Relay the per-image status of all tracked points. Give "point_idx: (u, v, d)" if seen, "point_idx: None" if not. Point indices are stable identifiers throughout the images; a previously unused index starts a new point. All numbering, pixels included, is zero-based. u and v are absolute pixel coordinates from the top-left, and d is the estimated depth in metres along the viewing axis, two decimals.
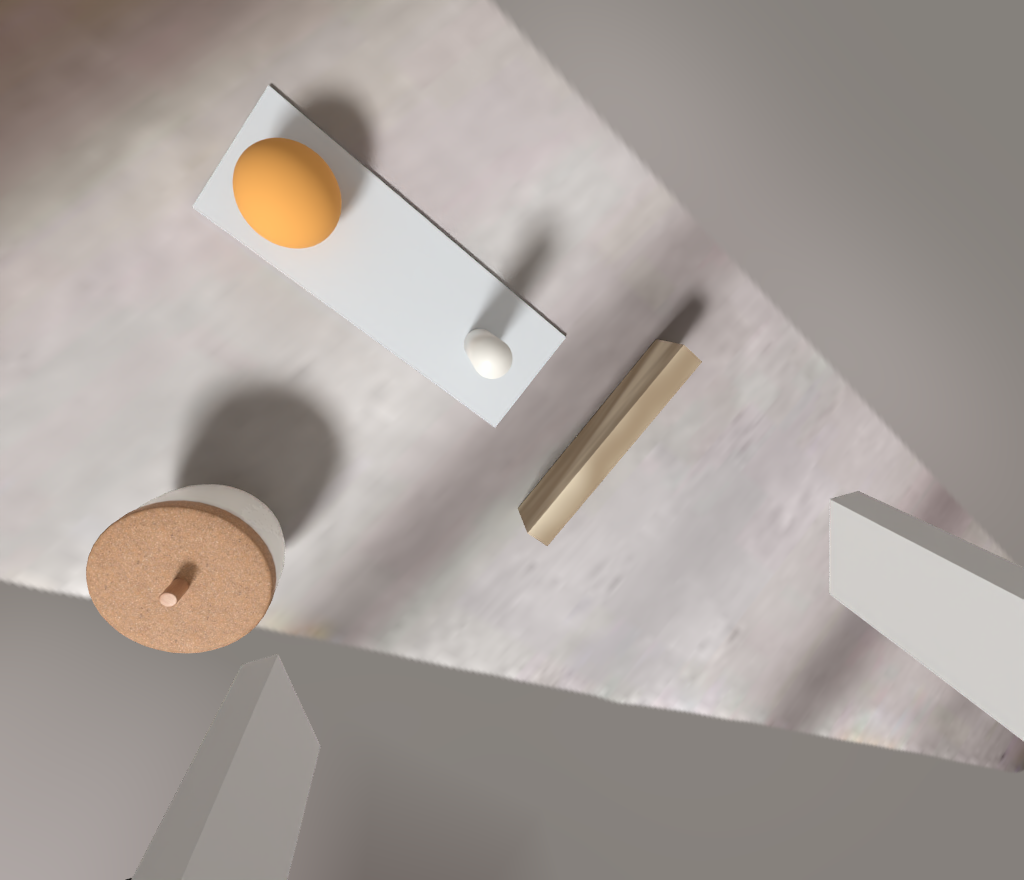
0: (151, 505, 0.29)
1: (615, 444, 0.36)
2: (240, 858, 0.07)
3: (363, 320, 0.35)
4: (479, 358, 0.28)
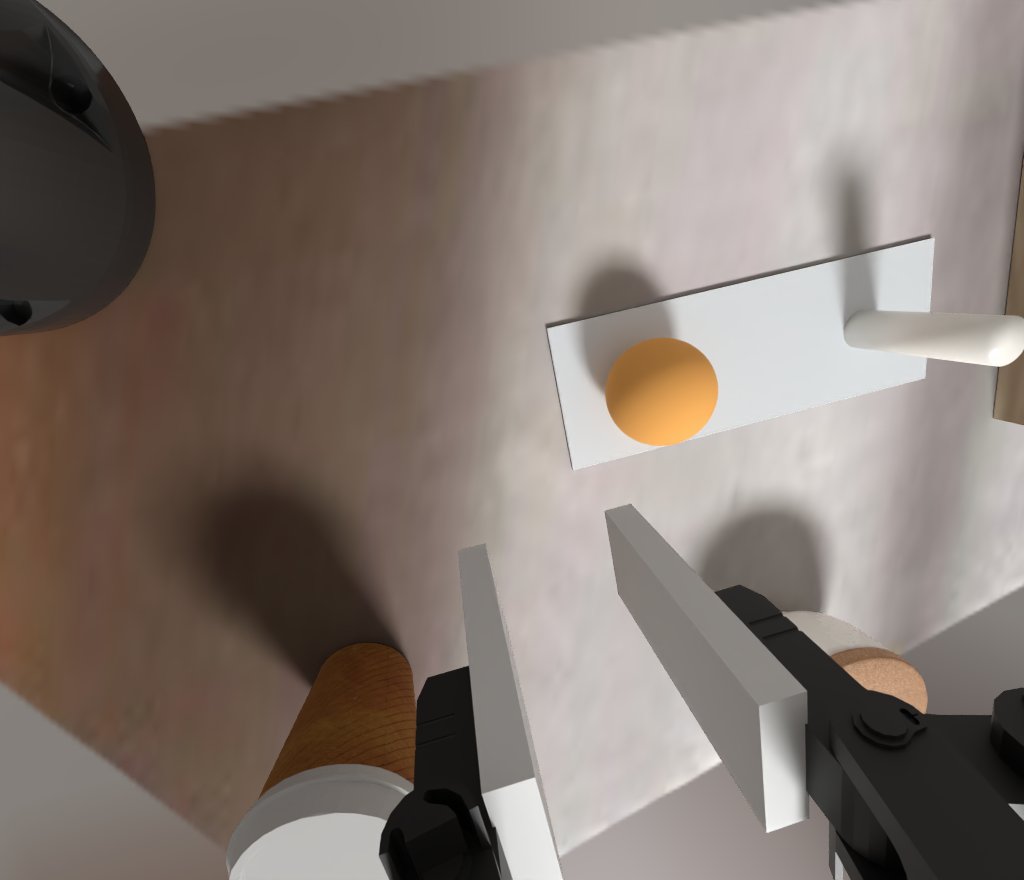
0: None
1: None
2: (513, 666, 0.10)
3: (752, 413, 0.31)
4: (993, 354, 0.23)
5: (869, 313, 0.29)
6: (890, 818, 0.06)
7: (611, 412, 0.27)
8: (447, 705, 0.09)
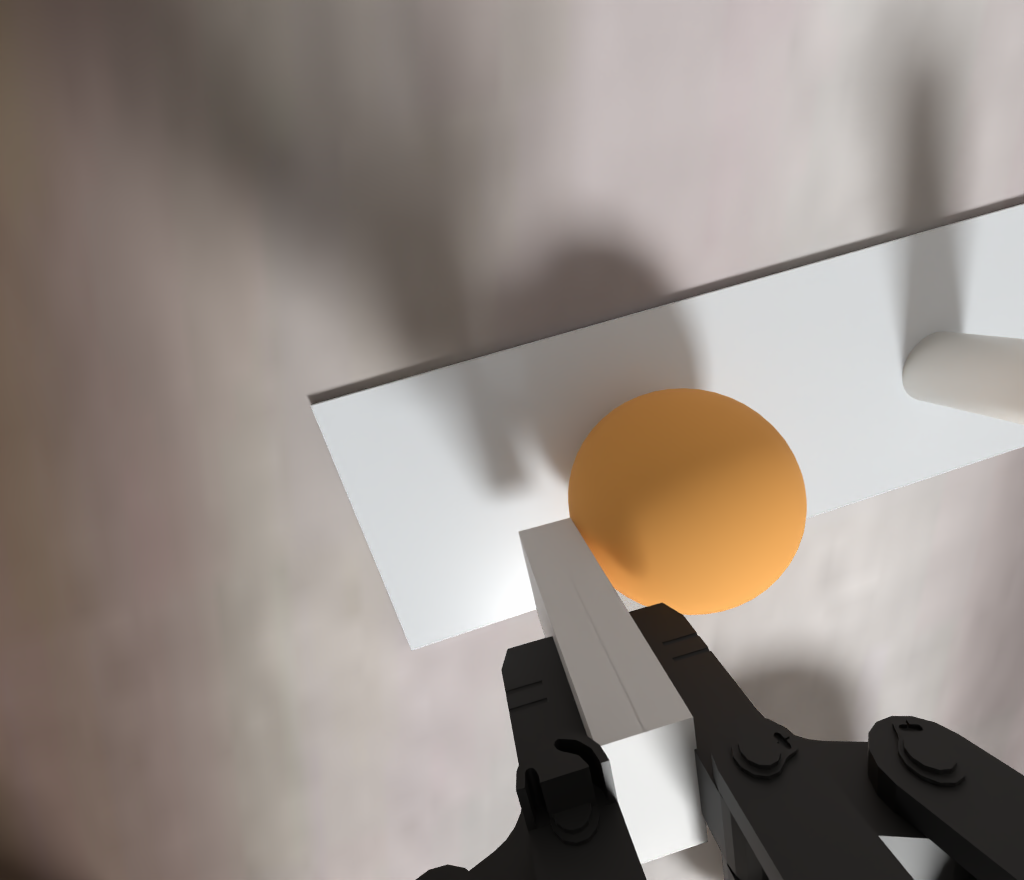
0: None
1: None
2: None
3: None
4: None
5: (956, 341, 0.15)
6: (767, 858, 0.05)
7: (692, 583, 0.11)
8: (533, 673, 0.09)
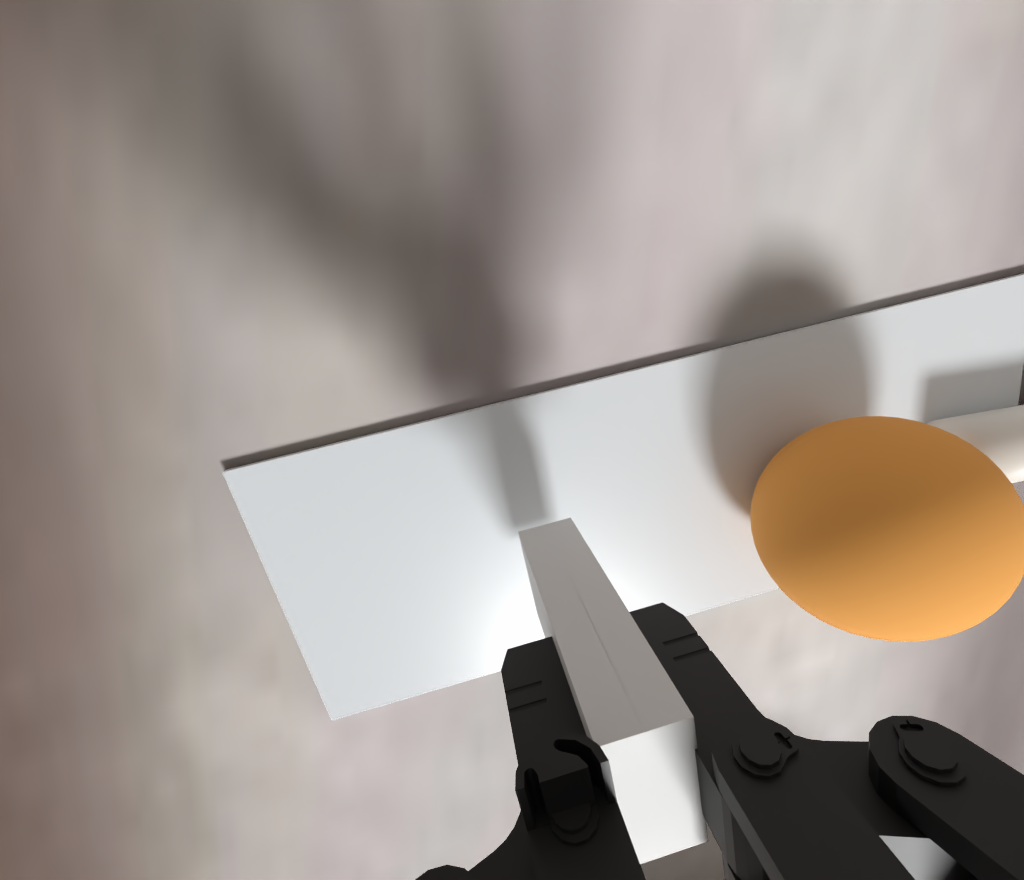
0: None
1: None
2: None
3: (682, 600, 0.17)
4: None
5: (1013, 429, 0.15)
6: (767, 857, 0.05)
7: None
8: (532, 673, 0.09)
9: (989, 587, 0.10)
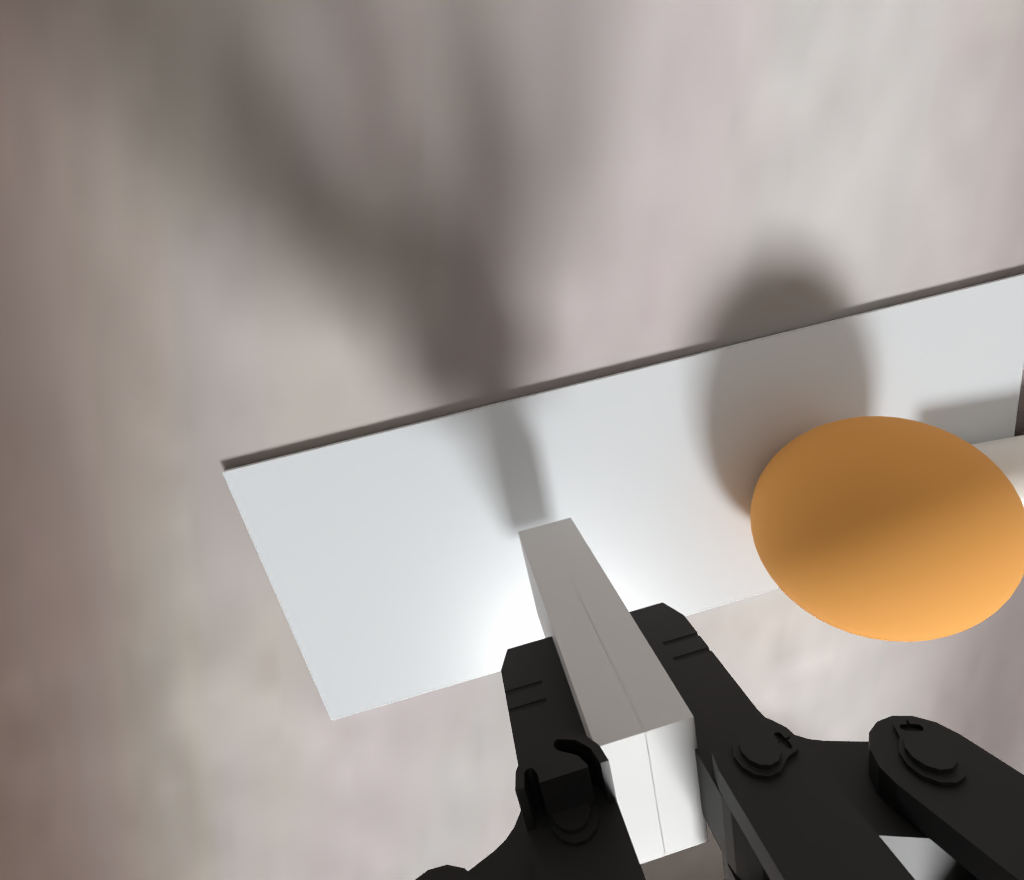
0: None
1: None
2: None
3: (682, 600, 0.17)
4: None
5: None
6: (767, 857, 0.05)
7: None
8: (532, 673, 0.09)
9: (989, 587, 0.10)
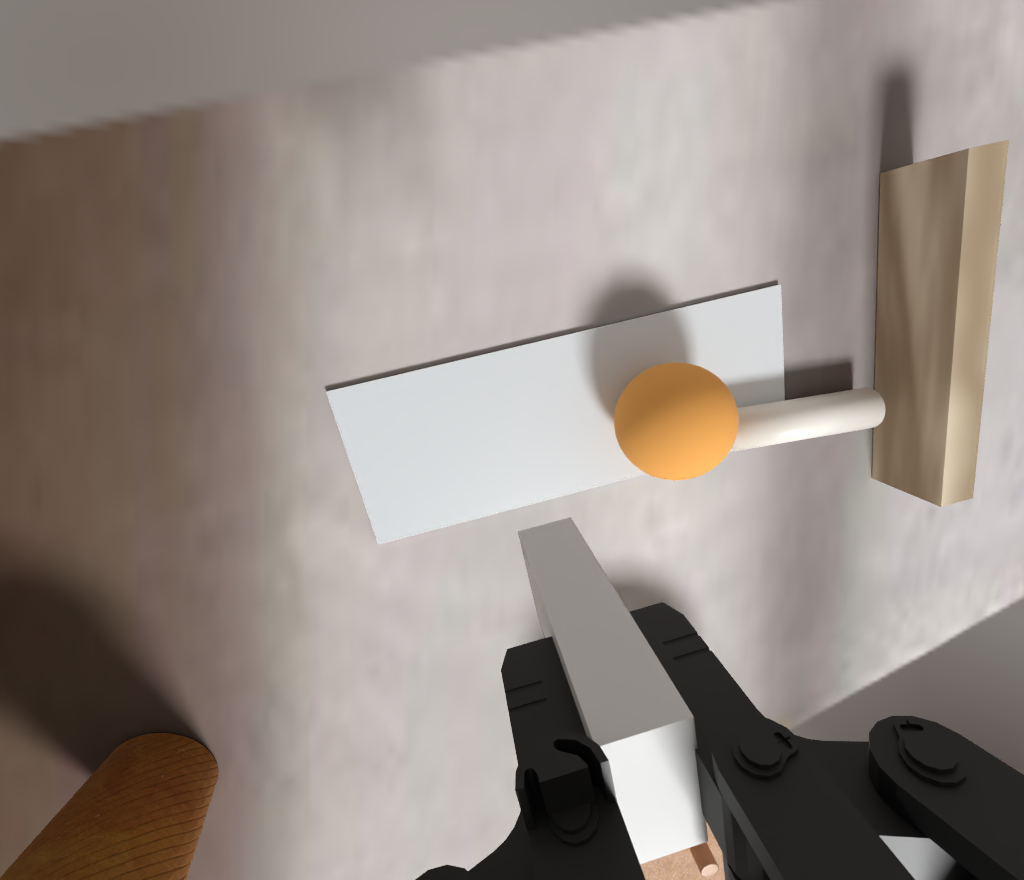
0: None
1: (970, 336, 0.24)
2: None
3: (585, 479, 0.28)
4: None
5: (757, 446, 0.27)
6: (768, 857, 0.05)
7: None
8: (533, 673, 0.09)
9: (704, 438, 0.22)
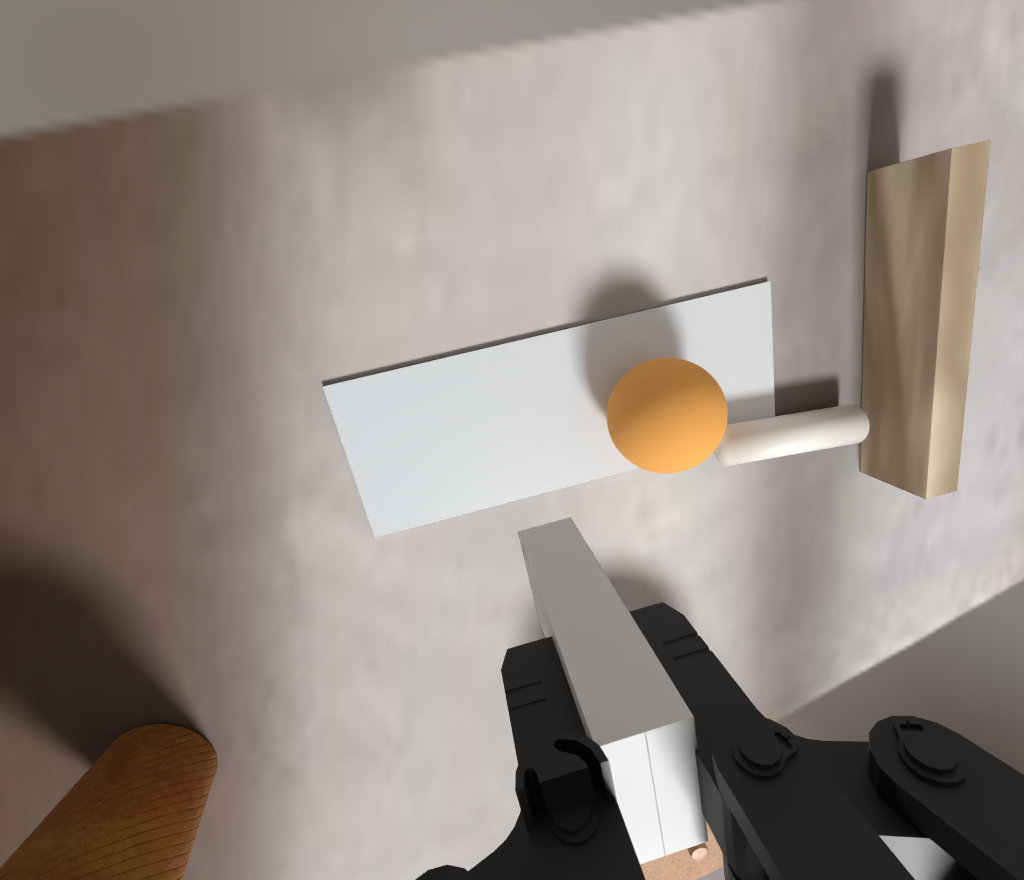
0: None
1: (954, 331, 0.25)
2: None
3: (578, 472, 0.28)
4: None
5: None
6: (767, 857, 0.05)
7: None
8: (532, 673, 0.09)
9: (694, 431, 0.22)
